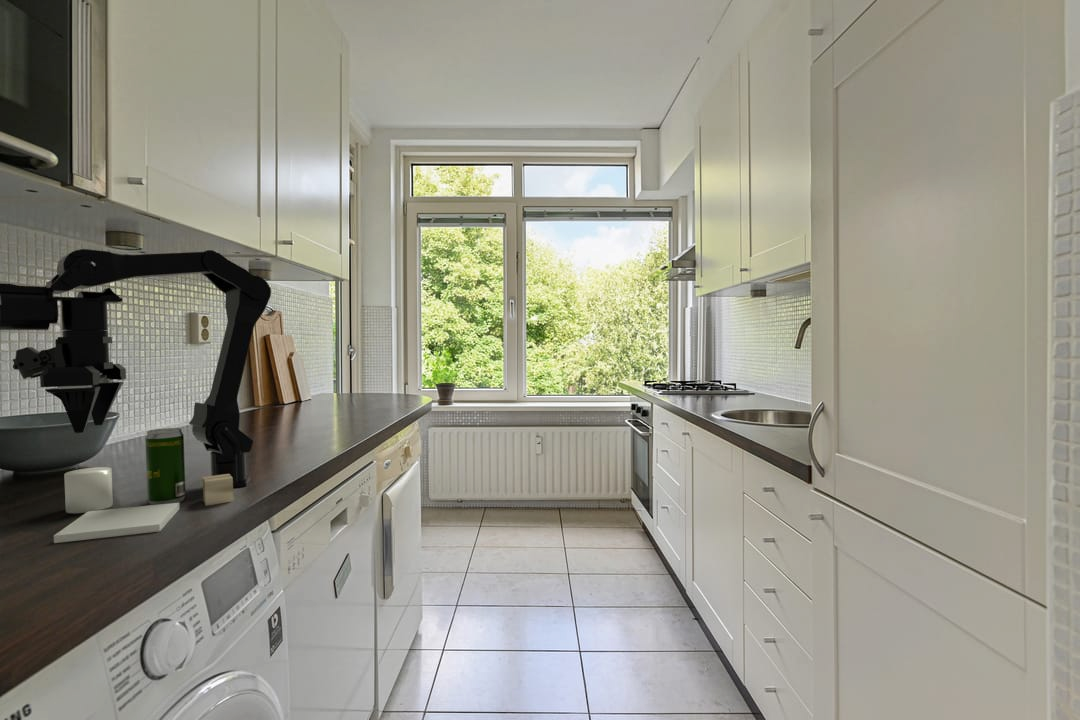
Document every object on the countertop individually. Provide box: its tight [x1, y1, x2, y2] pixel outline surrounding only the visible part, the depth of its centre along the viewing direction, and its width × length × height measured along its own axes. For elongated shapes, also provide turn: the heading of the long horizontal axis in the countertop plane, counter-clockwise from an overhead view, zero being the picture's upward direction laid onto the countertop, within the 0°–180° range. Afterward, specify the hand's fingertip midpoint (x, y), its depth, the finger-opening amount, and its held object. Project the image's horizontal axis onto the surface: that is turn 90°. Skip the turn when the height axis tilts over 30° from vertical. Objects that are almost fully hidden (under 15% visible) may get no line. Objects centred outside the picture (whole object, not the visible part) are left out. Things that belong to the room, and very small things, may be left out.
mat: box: [53, 502, 181, 544], centre depth 84 cm, size 12×12×1 cm
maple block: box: [202, 474, 234, 506], centre depth 96 cm, size 4×4×4 cm
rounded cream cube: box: [63, 466, 114, 514], centre depth 93 cm, size 6×6×6 cm
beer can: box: [144, 427, 187, 505], centre depth 96 cm, size 5×5×12 cm
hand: (89, 428), depth 92 cm, fingers open, 9 cm apart
